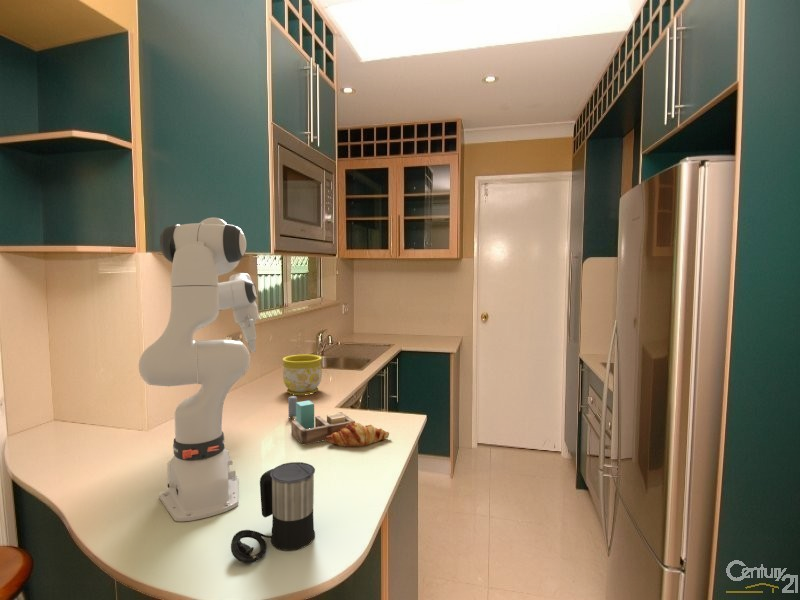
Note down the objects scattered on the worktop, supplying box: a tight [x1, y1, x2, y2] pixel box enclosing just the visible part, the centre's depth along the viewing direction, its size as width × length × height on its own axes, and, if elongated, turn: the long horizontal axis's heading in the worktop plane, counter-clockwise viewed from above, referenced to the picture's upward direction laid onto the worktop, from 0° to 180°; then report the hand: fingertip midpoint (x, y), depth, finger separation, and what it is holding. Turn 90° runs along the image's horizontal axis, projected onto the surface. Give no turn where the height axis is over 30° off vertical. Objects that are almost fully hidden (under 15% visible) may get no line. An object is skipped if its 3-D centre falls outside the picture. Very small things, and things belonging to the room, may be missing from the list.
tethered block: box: [287, 395, 315, 429], centre depth 166 cm, size 17×5×9 cm, turn 33°
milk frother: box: [230, 461, 316, 564], centre depth 91 cm, size 14×16×15 cm
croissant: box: [326, 422, 390, 448], centre depth 147 cm, size 21×10×8 cm, turn 107°
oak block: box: [326, 412, 345, 425], centre depth 156 cm, size 5×5×6 cm
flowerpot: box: [282, 354, 323, 396], centre depth 207 cm, size 18×18×16 cm
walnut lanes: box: [290, 411, 356, 445], centre depth 154 cm, size 12×19×4 cm, turn 121°
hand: (253, 352), depth 166 cm, fingers open, 8 cm apart
